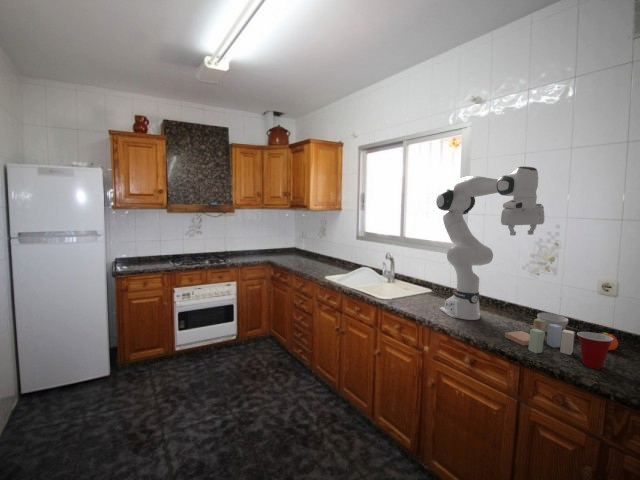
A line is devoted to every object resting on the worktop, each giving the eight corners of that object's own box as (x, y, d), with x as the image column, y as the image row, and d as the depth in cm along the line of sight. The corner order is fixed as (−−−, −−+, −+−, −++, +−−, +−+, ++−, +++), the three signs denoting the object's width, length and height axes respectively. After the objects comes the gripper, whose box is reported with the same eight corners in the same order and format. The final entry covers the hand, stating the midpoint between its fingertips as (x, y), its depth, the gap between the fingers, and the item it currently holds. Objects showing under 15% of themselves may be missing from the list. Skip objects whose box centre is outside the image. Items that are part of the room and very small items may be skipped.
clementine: (589, 345, 151) (591, 329, 151) (604, 345, 152) (606, 329, 151) (606, 352, 143) (607, 336, 143) (621, 352, 144) (623, 336, 143)
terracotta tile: (504, 336, 158) (505, 332, 158) (521, 335, 161) (522, 331, 161) (523, 345, 149) (523, 341, 148) (540, 343, 151) (541, 339, 151)
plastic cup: (590, 358, 137) (593, 329, 136) (617, 371, 127) (621, 339, 126) (566, 359, 136) (569, 330, 135) (592, 372, 125) (595, 340, 124)
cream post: (560, 352, 143) (562, 331, 142) (562, 350, 145) (564, 329, 144) (570, 355, 140) (572, 333, 139) (572, 352, 142) (574, 331, 141)
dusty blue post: (546, 344, 151) (548, 324, 150) (553, 343, 152) (555, 324, 151) (552, 347, 148) (554, 327, 147) (560, 347, 148) (562, 326, 147)
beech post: (532, 338, 157) (533, 319, 156) (536, 337, 159) (537, 318, 158) (540, 341, 154) (542, 322, 153) (544, 340, 156) (546, 320, 155)
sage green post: (528, 349, 144) (530, 329, 143) (534, 349, 145) (536, 328, 144) (535, 353, 141) (537, 332, 140) (542, 352, 142) (544, 331, 141)
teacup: (555, 338, 158) (557, 321, 157) (529, 329, 169) (531, 313, 168) (576, 334, 164) (577, 318, 163) (549, 326, 175) (551, 311, 174)
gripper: (537, 203, 156) (534, 233, 158) (499, 203, 152) (497, 234, 154) (549, 203, 150) (546, 235, 152) (510, 204, 146) (508, 236, 148)
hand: (521, 234), depth 153 cm, fingers open, 8 cm apart
